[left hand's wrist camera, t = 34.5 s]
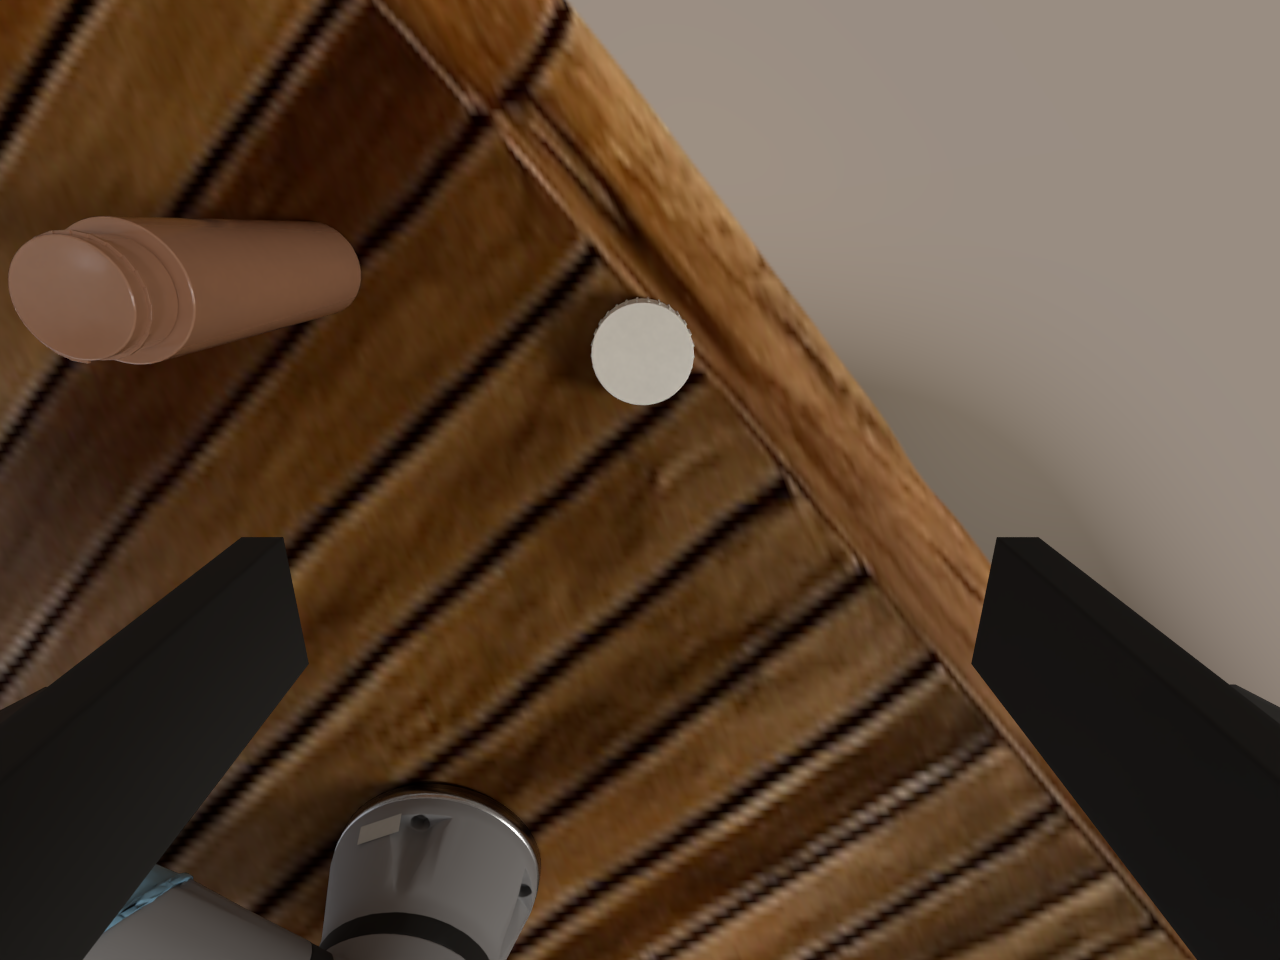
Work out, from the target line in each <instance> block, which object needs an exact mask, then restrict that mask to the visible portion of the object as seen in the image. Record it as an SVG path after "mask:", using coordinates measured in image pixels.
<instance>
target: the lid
mask: <svg viewBox="0 0 1280 960" xmlns="http://www.w3.org/2000/svg"><path fill="white" fill-rule="evenodd" d="M686 325H687V324H686V322H685V320H682V318H681V317H680V315H679V313H678V311H676V312H675V311H674V310H673V309H672V308H671V307H670V305H669V304H668V305H666V304H664V303H662V302H660V300H658V301H657V300H653V299H649V297H647V299H645V298H639V299H638V297H636V299H632V300H625V302H623V303H621V304H619V305H618V304H616V305H615V307H614V308H613V309H612V310H611V311H610V312H609V311H607V313H606V316H605V317H604V318H603V320H602V319H601V320H600V322H599V327H598V329H596V330H595V332H594V335H595V336H594V339H593V341H592V343H591V346H592V352H591V357H592V364H593V366H592V367H593V368H594V371H595V374H596V376H597V378H598V380H599V382H600V383H601V384H602V386H603V387H604V388H605V389H606V390H607V391H608V392H609V393H610V394H612V395H613V396H614V397H616V398H618V399H619V400H622V401H624V402H627V403H630V404H635V405H650V404H655V403H658V402H661V401H663V400H665V399H667V398H669V397H671V396H672V395H674V394H675V393H676V392H677V391H678V390H679V389H680V388H681V387H682V386H683V384H684V383H685V381H686V380H687V378H688V376H689V374H690V371H691V369H692V365H693V358H694V349H693V346H694V343H693V341H692V339H691V335H692V334H691V332H690V330H689V329H687V327H686Z"/></svg>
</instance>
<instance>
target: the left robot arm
mask: <svg viewBox="0 0 1280 960" xmlns="http://www.w3.org/2000/svg"><path fill="white" fill-rule="evenodd" d="M308 664H309V663H308V658H307V653H306V648H305V643H304V638H303V633H302V629H301V624H300V619H299V614H298V609H297V604H296V599H295V594H294V589H293V584H292V579H291V574H290V569H289V564H288V559H287V554H286V549H285V544H284V539H283V537H241V538H240V539H239V540H237V541H236V542H235V543H234V544H232V545H231V546H230V547H228V548H227V549H226V550H224V551H223V552H222V553H221V554H219V555H218V556H217V557H215V558H214V559H213V560H212V561H210V562H209V563H208V564H206V565H205V566H204V567H202V568H201V569H200V570H199V571H197V572H196V573H195V574H193V575H192V576H191V577H190V578H188V579H187V580H186V581H184V582H183V583H182V584H180V585H179V586H178V587H177V588H175V589H174V590H173V591H171V592H170V593H169V594H168V595H166V596H165V597H164V598H162V599H161V600H160V601H158V602H157V603H156V604H155V605H153V606H152V607H151V608H149V609H148V610H147V611H146V612H144V613H143V614H142V615H140V616H139V617H138V618H136V619H135V620H134V621H133V622H131V623H130V624H129V625H127V626H126V627H125V628H124V629H122V630H121V631H120V632H118V633H117V634H116V635H114V636H113V637H112V638H111V639H109V640H108V641H107V642H105V643H104V644H103V645H102V646H100V647H99V648H98V649H96V650H95V651H94V652H92V653H91V654H90V655H89V656H87V657H86V658H85V659H83V660H82V661H81V662H79V663H78V664H77V665H76V666H74V667H73V668H72V669H70V670H69V671H68V672H67V673H65V674H64V675H63V676H61V677H60V678H59V679H57V680H56V681H55V682H54V683H52V684H51V685H50V686H48V687H44V688H43V689H41V690H39V691H37V692H35V693H33V694H31V695H29V696H27V697H25V698H23V699H21V700H19V701H17V702H16V703H14V704H12V705H10V706H8V707H6V708H4V709H2V710H0V960H506V959H507V957H508V955H509V953H510V951H511V949H512V947H513V946H514V944H515V942H516V940H517V938H518V936H519V934H520V932H521V930H522V928H523V926H524V925H525V923H526V921H527V919H528V917H529V915H530V913H531V910H532V907H533V904H534V901H535V898H536V895H537V891H538V885H539V879H540V871H541V860H540V853H539V850H538V847H537V844H536V842H535V839H534V838H533V836H532V834H531V832H530V831H529V829H528V828H527V827H526V825H525V824H524V823H523V822H522V821H521V820H520V819H519V818H518V817H517V816H516V815H515V814H514V813H513V812H512V811H510V810H509V809H508V808H506V807H505V806H504V805H502V804H500V803H499V802H497V801H495V800H493V799H492V798H490V797H488V796H485V795H483V794H481V793H478V792H475V791H472V790H469V789H465V788H461V787H456V786H451V785H442V784H418V785H410V786H405V787H400V788H397V789H393V790H390V791H388V792H385V793H383V794H380V795H378V796H377V797H375V798H373V799H371V800H370V801H368V802H367V803H365V804H364V805H363V806H362V807H361V808H359V809H358V810H357V811H356V813H355V814H354V815H353V816H352V817H351V819H350V820H349V822H348V823H347V825H346V827H345V829H344V831H343V833H342V835H341V837H340V839H339V841H338V844H337V846H336V849H335V853H334V856H333V859H332V862H331V867H330V875H329V883H328V892H327V900H326V909H325V917H324V926H323V934H322V941H321V943H320V946H319V947H318V946H316V945H314V944H312V943H311V942H310V941H308V940H306V939H304V938H302V937H300V936H298V935H296V934H294V933H292V932H290V931H288V930H286V929H284V928H282V927H280V926H279V925H277V924H275V923H273V922H271V921H269V920H267V919H265V918H263V917H261V916H259V915H257V914H255V913H253V912H251V911H249V910H247V909H245V908H243V907H241V906H240V905H238V904H236V903H234V902H232V901H230V900H229V899H227V898H225V897H223V896H221V895H219V894H217V893H216V892H214V891H212V890H210V889H208V888H206V887H205V886H203V885H201V884H199V883H197V882H195V881H194V880H193V876H191V875H190V874H188V873H180V874H179V873H176V872H174V871H171V870H169V869H167V868H164V867H162V866H159V865H157V864H156V863H157V862H158V861H159V859H160V858H161V857H162V855H163V854H164V853H165V851H166V850H167V849H168V847H169V846H170V845H171V844H172V842H173V841H174V840H175V838H176V837H177V836H178V834H179V833H180V832H181V830H182V829H183V828H184V826H185V825H186V824H187V823H188V821H189V820H190V819H191V817H192V816H193V815H194V813H195V812H196V811H197V809H198V808H199V807H200V806H201V804H202V803H203V802H204V800H205V799H206V798H207V796H208V795H209V794H210V792H211V791H212V790H213V788H214V787H215V786H216V785H217V783H218V782H219V781H220V779H221V778H222V777H223V775H224V774H225V773H226V771H227V770H228V769H229V768H230V766H231V765H232V764H233V762H234V761H235V760H236V758H237V757H238V756H239V754H240V753H241V752H242V750H243V749H244V748H245V747H246V745H247V744H248V743H249V741H250V740H251V739H252V737H253V736H254V735H255V733H256V732H257V731H258V730H259V728H260V727H261V726H262V724H263V723H264V722H265V720H266V719H267V718H268V716H269V715H270V714H271V712H272V711H273V710H274V709H275V707H276V706H277V705H278V703H279V702H280V701H281V699H282V698H283V697H284V695H285V694H286V693H287V691H288V690H289V689H290V688H291V686H292V685H293V684H294V682H295V681H296V680H297V678H298V677H299V676H300V674H301V673H302V672H303V671H304V669H305V668H306V667H307V665H308ZM971 664H972V665H973V667H974V668H975V669H976V671H977V672H978V673H979V674H980V676H981V677H982V678H983V680H984V681H985V682H986V684H987V685H988V686H989V688H990V689H991V690H992V691H993V693H994V694H995V695H996V697H997V698H998V699H999V701H1000V702H1001V703H1002V705H1003V706H1004V707H1005V709H1006V710H1007V711H1008V712H1009V714H1010V715H1011V716H1012V718H1013V719H1014V720H1015V722H1016V723H1017V724H1018V726H1019V727H1020V728H1021V730H1022V731H1023V732H1024V733H1025V735H1026V736H1027V737H1028V739H1029V740H1030V741H1031V743H1032V744H1033V745H1034V747H1035V748H1036V749H1037V750H1038V752H1039V753H1040V754H1041V756H1042V757H1043V758H1044V760H1045V761H1046V762H1047V764H1048V765H1049V766H1050V768H1051V769H1052V770H1053V771H1054V773H1055V774H1056V775H1057V777H1058V778H1059V779H1060V781H1061V782H1062V783H1063V785H1064V786H1065V787H1066V788H1067V790H1068V791H1069V792H1070V794H1071V795H1072V796H1073V798H1074V799H1075V800H1076V802H1077V803H1078V804H1079V806H1080V807H1081V808H1082V809H1083V811H1084V812H1085V813H1086V815H1087V816H1088V817H1089V819H1090V820H1091V821H1092V823H1093V824H1094V825H1095V826H1096V828H1097V829H1098V830H1099V832H1100V833H1101V834H1102V836H1103V837H1104V838H1105V840H1106V841H1107V842H1108V844H1109V845H1110V846H1111V847H1112V849H1113V850H1114V851H1115V853H1116V854H1117V855H1118V857H1119V858H1120V859H1121V861H1122V862H1123V863H1124V865H1125V866H1126V867H1127V868H1128V870H1129V871H1130V872H1131V874H1132V875H1133V876H1134V878H1135V879H1136V880H1137V882H1138V883H1139V884H1140V885H1141V887H1142V888H1143V889H1144V891H1145V892H1146V893H1147V895H1148V896H1149V897H1150V899H1151V900H1152V901H1153V903H1154V904H1155V905H1156V906H1157V908H1158V909H1159V910H1160V912H1161V913H1162V914H1163V916H1164V917H1165V918H1166V920H1167V921H1168V922H1169V923H1170V925H1171V926H1172V927H1173V929H1174V930H1175V931H1176V933H1177V934H1178V935H1179V937H1180V938H1181V939H1182V941H1183V942H1184V943H1185V944H1186V946H1187V947H1188V948H1189V950H1190V951H1191V952H1192V954H1193V955H1194V956H1195V958H1196V959H1197V960H1280V707H1278V706H1276V705H1274V704H1272V703H1270V702H1268V701H1266V700H1264V699H1263V698H1261V697H1259V696H1257V695H1255V694H1253V693H1251V692H1249V691H1247V690H1245V689H1243V688H1241V687H1239V686H1237V685H1229V684H1228V683H1226V682H1225V681H1224V680H1223V679H1221V678H1220V677H1219V676H1217V675H1216V674H1215V673H1213V672H1212V671H1211V670H1210V669H1208V668H1207V667H1206V666H1204V665H1203V664H1202V663H1200V662H1199V661H1198V660H1197V659H1195V658H1194V657H1193V656H1191V655H1190V654H1189V653H1188V652H1186V651H1185V650H1184V649H1182V648H1181V647H1180V646H1178V645H1177V644H1176V643H1175V642H1173V641H1172V640H1171V639H1169V638H1168V637H1167V636H1166V635H1164V634H1163V633H1162V632H1160V631H1159V630H1158V629H1156V628H1155V627H1154V626H1153V625H1151V624H1150V623H1149V622H1147V621H1146V620H1145V619H1143V618H1142V617H1141V616H1140V615H1138V614H1137V613H1136V612H1134V611H1133V610H1132V609H1131V608H1129V607H1128V606H1127V605H1125V604H1124V603H1123V602H1122V601H1120V600H1119V599H1118V598H1116V597H1115V596H1114V595H1112V594H1111V593H1110V592H1109V591H1107V590H1106V589H1105V588H1103V587H1102V586H1101V585H1100V584H1098V583H1097V582H1096V581H1094V580H1093V579H1092V578H1090V577H1089V576H1088V575H1087V574H1085V573H1084V572H1083V571H1081V570H1080V569H1079V568H1078V567H1076V566H1075V565H1074V564H1072V563H1071V562H1070V561H1068V560H1067V559H1066V558H1065V557H1063V556H1062V555H1061V554H1059V553H1058V552H1057V551H1055V550H1054V549H1053V548H1052V547H1050V546H1049V545H1048V544H1046V543H1045V542H1044V541H1043V540H1041V539H1040V538H1039V537H997V539H996V544H995V549H994V554H993V559H992V564H991V569H990V574H989V579H988V584H987V589H986V594H985V599H984V604H983V609H982V614H981V619H980V624H979V629H978V633H977V638H976V643H975V648H974V653H973V658H972V663H971Z"/></svg>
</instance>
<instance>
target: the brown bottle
mask: <svg viewBox="0 0 1280 960" xmlns="http://www.w3.org/2000/svg"><path fill="white" fill-rule="evenodd" d="M360 282H361V270H360V264H359V261H358V258H357V255H356V253H355V251H354V249H353V248H352V246H351V245H350V243H349V242H348V241H347V240H346V239H345V238H344V237H343V236H342V235H341V234H340V233H339V232H337V231H336V230H335V229H333V228H331V227H329V226H327V225H325V224H322V223H319V222H313V221H277V220H236V219H196V218H155V217H115V216H97V217H90V218H86V219H83V220H80V221H78V222H76V223H74V224H72V225H71V226H69V227H68V228H66V229H65V230H52V231H48V232H46V233H43V234H41V235H38V236H35V237H34V238H32V239H31V240H29V241H28V242H26V243H25V244H23V245H22V246H21V247H20V248H19V249H18V251H17V252H16V254H15V255H14V257H13V259H12V261H11V264H10V268H9V274H8V287H9V293H10V297H11V300H12V303H13V305H14V308H15V310H16V312H17V314H18V316H19V317H20V319H21V320H22V322H23V323H24V325H25V326H26V327H27V328H28V330H29V331H30V332H31V333H32V334H33V335H34V336H35V337H36V338H37V339H38V340H39V341H40V342H41V343H43V344H44V345H46V346H47V347H49V348H50V349H52V350H53V351H54V353H57V354H59V355H61V356H64V357H66V358H68V359H70V360H72V361H78V362H83V363H91V361H94V360H117V361H121V362H124V363H130V364H153V363H157V362H161V361H164V360H168V359H172V358H175V357H179V356H182V355H186V354H190V353H193V352H197V351H201V350H204V349H208V348H211V347H215V346H219V345H222V344H226V343H230V342H233V341H237V340H240V339H244V338H248V337H251V336H255V335H259V334H262V333H266V332H270V331H273V330H277V329H280V328H284V327H288V326H291V325H295V324H299V323H302V322H306V321H309V320H313V319H317V318H320V317H324V316H328V315H331V314H335V313H338V312H340V311H342V310H343V309H345V308H346V307H348V306H349V305H350V304H351V303H352V301H353V300H354V299H355V297H356V295H357V293H358V291H359V287H360Z"/></svg>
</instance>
